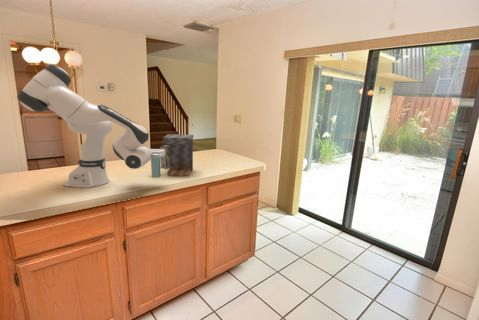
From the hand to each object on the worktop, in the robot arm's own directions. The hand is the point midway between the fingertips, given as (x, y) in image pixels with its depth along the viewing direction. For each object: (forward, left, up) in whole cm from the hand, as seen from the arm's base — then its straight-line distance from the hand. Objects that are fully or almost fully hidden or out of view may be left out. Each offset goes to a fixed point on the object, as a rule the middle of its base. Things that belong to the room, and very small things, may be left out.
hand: (150, 150), depth 148 cm
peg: (0, +11, -19) cm, 22 cm away
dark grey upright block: (+14, +17, -19) cm, 29 cm away
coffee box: (+3, +34, -19) cm, 40 cm away
